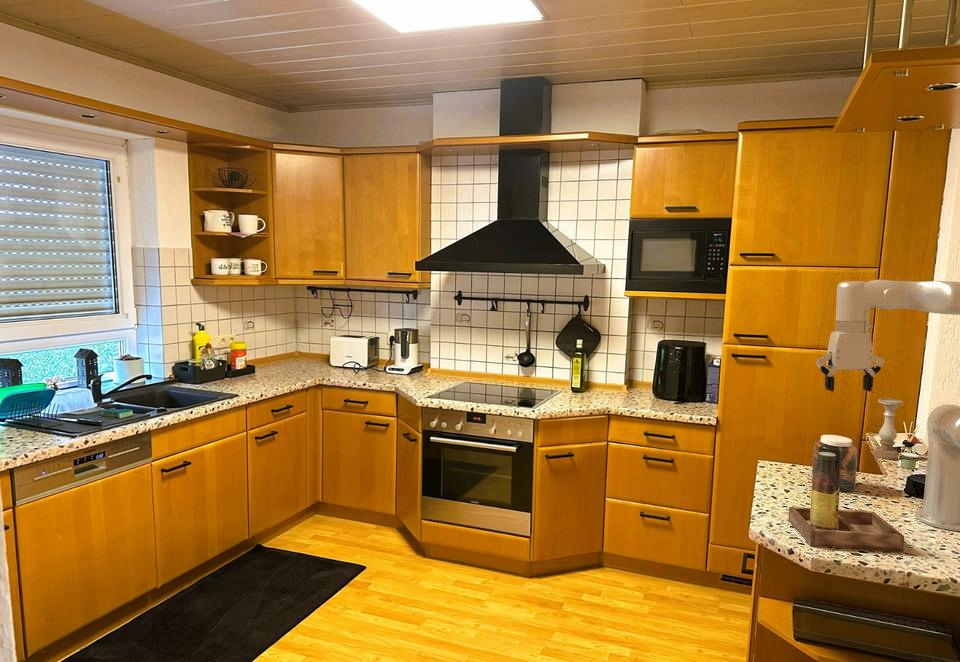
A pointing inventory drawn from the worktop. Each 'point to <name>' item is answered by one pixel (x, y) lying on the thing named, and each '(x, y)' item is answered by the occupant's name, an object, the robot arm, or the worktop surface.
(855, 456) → the jar
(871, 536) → the caddy
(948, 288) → the robot arm
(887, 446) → the candle holder
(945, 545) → the worktop surface
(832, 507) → the sauce bottle
